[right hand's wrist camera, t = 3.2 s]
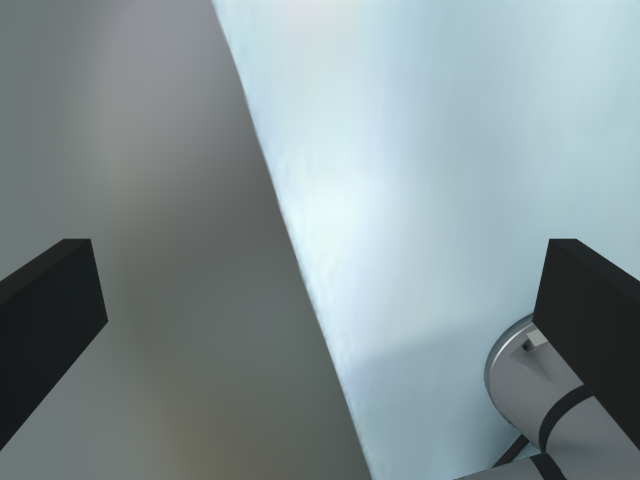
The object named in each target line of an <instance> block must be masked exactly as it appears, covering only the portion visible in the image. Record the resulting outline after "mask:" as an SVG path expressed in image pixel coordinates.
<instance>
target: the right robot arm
mask: <svg viewBox="0 0 640 480" xmlns="http://www.w3.org/2000/svg"><path fill="white" fill-rule="evenodd" d="M107 322H108V318H107V314H106V309H105V304H104V299H103V295H102V290H101V286H100V281H99V276H98V271H97V267H96V262H95V258H94V253H93V248H92V243H91V239H63V240H61V241H60V242H58V243H57V244H55V245H54V246H52V247H51V248H49V249H48V250H46V251H45V252H43V253H42V254H40V255H39V256H37V257H36V258H34V259H33V260H31V261H30V262H28V263H27V264H25V265H24V266H22V267H21V268H19V269H18V270H17V271H15V272H13V273H12V274H11V275H9V276H8V277H6V278H5V279H3V280H2V281H0V451H1V450H2V449H3V447H4V446H5V445H6V444H7V442H8V441H9V440H10V439H11V438H12V436H13V435H14V434H15V433H16V432H17V430H18V429H19V428H20V427H21V426H22V424H23V423H24V422H25V421H26V420H27V418H28V417H29V416H30V415H31V414H32V412H33V411H34V410H35V409H36V408H37V406H38V405H39V404H40V403H41V402H42V400H43V399H44V398H45V397H46V396H47V394H48V393H49V392H50V391H51V390H52V388H53V387H54V386H55V385H56V383H57V382H58V381H59V380H60V379H61V378H62V376H63V375H64V374H65V373H66V372H67V370H68V369H69V368H70V367H71V365H72V364H73V363H74V362H75V361H76V360H77V358H78V357H79V356H80V355H81V354H82V352H83V351H84V350H85V349H86V347H87V346H88V345H89V344H90V343H91V341H92V340H93V339H94V338H95V337H96V335H97V334H98V333H99V332H100V331H101V329H102V328H103V327H104V326H105V325H106V323H107ZM484 380H485V386H486V389H487V392H488V394H489V396H490V398H491V400H492V402H493V404H494V406H495V407H496V409H497V410H498V411H499V413H500V414H501V415H502V416H503V418H504V419H505V420H506V421H508V422H509V423H510V424H511V425H513V426H514V427H515V428H517V429H518V430H519V431H520V432H521V433H522V434H521V435H520V437H519V438H518V439H517V440H516V441H515V442H514V444H513V445H512V446H511V447H510V448H509V449H508V451H507V452H506V453H505V454H504V455H503V456H502V457H501V459H500V460H499V461H498V462H497V463H496V464H495V465H494V466H493V467H492V468H491V469H488V470H484V471H481V472H478V473H474V474H471V475H468V476H464V477H461V478H458V479H454V480H640V281H638V280H637V279H635V278H634V277H632V276H631V275H629V274H628V273H627V272H625V271H624V270H622V269H621V268H619V267H618V266H616V265H615V264H613V263H612V262H610V261H609V260H607V259H606V258H604V257H603V256H601V255H600V254H598V253H597V252H595V251H594V250H592V249H591V248H589V247H588V246H586V245H585V244H583V243H582V242H580V241H579V240H577V239H549V243H548V248H547V253H546V257H545V262H544V267H543V271H542V276H541V281H540V285H539V290H538V295H537V299H536V304H535V309H534V313H533V314H531V315H529V316H527V317H525V318H523V319H522V320H520V321H518V322H517V323H515V324H514V325H513V326H511V327H510V328H509V329H508V330H507V331H506V332H505V333H504V334H503V335H502V336H501V337H500V338H499V339H498V340H497V342H496V343H495V345H494V346H493V348H492V350H491V351H490V353H489V356H488V358H487V361H486V365H485V371H484ZM529 441H530V442H531V443H533V444H534V445H535V446H536V447H537V448H538V449H539V450H540V451H541V454H537V455H534V456H531V457H527V458H524V459H521V460H518V461H515V462H512V460H513V459H514V458H515V457H516V456H517V455H518V454H519V453H520V452H521V450H522V449H523V448H524V447H525V446H526V445H527V444H528V442H529Z"/></svg>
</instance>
